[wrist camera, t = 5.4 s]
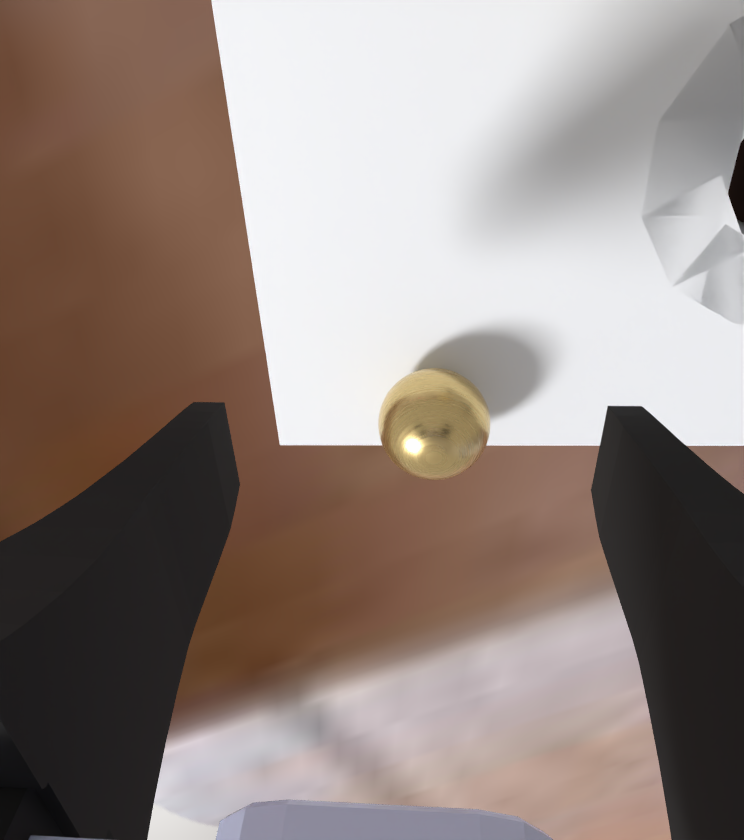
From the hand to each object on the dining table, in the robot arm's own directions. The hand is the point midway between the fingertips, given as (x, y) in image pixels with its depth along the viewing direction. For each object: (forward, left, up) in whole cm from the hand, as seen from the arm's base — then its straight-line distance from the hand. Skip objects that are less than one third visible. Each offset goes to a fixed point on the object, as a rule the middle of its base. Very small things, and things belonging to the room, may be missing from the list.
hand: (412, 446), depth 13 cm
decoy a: (0, +3, -6) cm, 7 cm away
